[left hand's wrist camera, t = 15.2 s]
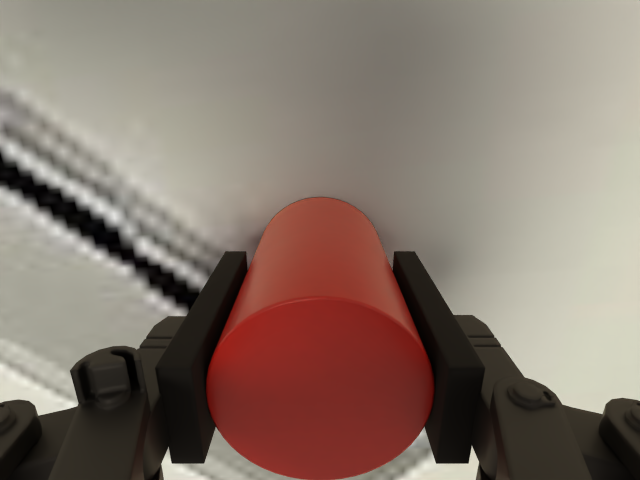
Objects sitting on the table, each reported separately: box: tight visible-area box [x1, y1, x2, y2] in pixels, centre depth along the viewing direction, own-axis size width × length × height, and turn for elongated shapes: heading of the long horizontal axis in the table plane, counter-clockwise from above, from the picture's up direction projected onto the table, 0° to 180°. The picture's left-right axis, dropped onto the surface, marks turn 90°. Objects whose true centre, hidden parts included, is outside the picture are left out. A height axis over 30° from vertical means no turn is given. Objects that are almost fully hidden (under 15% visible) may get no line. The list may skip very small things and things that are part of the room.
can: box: [206, 197, 435, 480], centre depth 13 cm, size 5×5×9 cm
